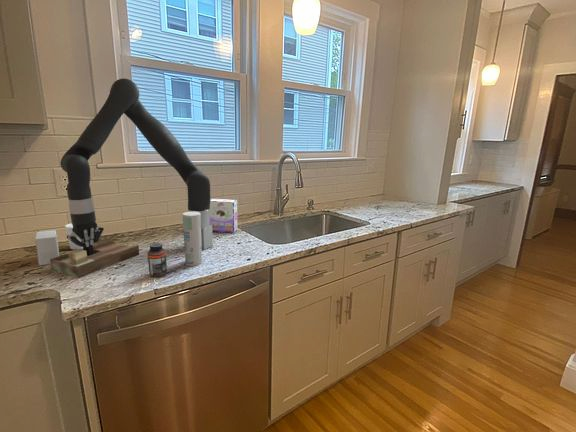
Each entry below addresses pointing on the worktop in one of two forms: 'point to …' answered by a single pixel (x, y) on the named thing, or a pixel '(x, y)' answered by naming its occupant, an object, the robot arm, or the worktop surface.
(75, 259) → the maple block
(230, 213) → the candy box
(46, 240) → the skincare box
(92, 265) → the box
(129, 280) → the worktop surface
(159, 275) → the supplement bottle
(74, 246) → the white cup
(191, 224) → the spray can
